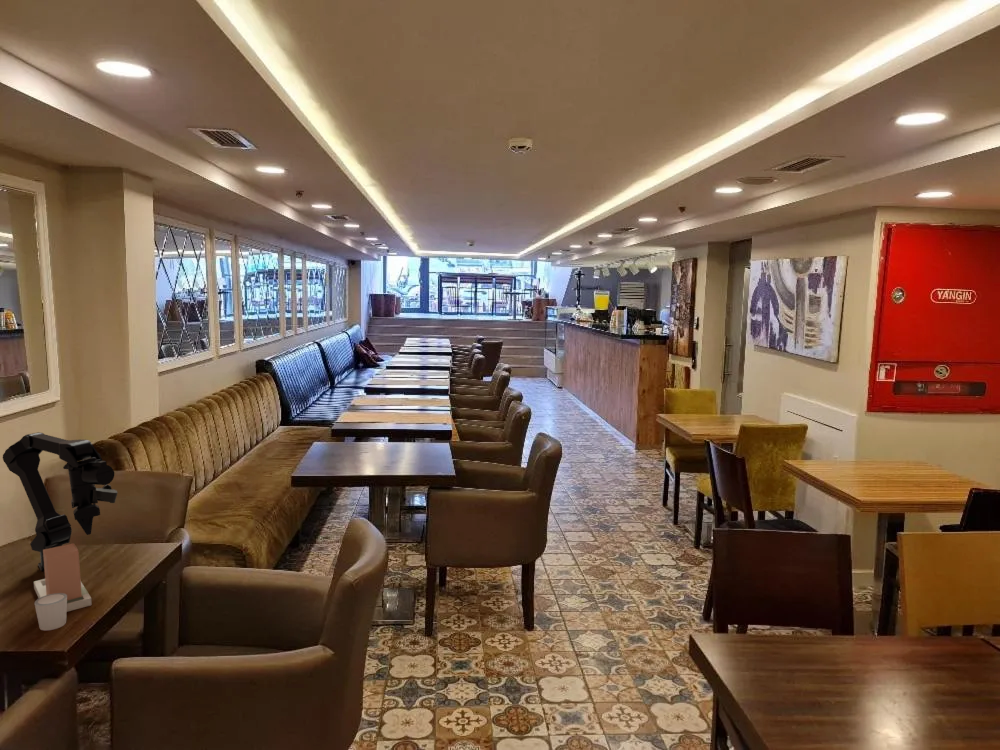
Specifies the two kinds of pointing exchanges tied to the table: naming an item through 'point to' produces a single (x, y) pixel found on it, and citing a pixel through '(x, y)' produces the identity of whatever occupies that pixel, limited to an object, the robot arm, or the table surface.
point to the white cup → (51, 611)
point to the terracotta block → (62, 571)
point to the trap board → (71, 604)
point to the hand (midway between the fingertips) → (88, 534)
